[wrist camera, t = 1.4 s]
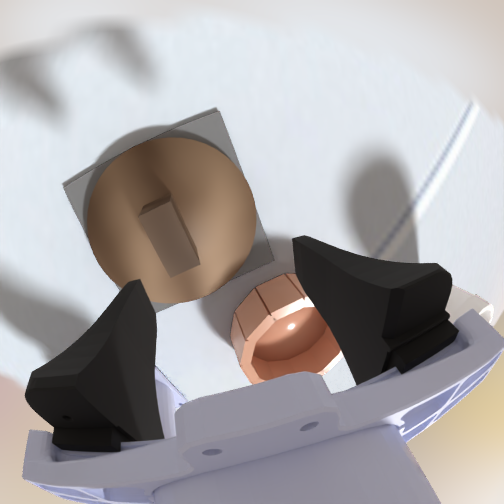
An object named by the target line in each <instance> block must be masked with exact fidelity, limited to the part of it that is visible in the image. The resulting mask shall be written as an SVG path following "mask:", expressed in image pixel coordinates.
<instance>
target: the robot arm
mask: <svg viewBox="0 0 504 504" xmlns="http://www.w3.org/2000/svg"><path fill="white" fill-rule="evenodd" d="M292 242H293V251H294V261H295V272H296V276H297V278H298V280H299V282H300V284H301V286H302V288H303V290H304V292H305V293H306V295H307V296H308V298H309V299H310V301H311V302H312V303H313V305H314V306H315V308H316V309H317V310H318V312H319V313H320V315H321V316H322V318H323V319H324V320H325V322H326V323H327V325H328V327H329V328H330V330H331V332H332V334H333V335H334V337H335V339H336V341H337V343H338V345H339V347H340V349H341V351H342V353H343V355H344V357H345V359H346V362H347V364H348V366H349V368H350V371H351V373H352V375H353V378H354V380H355V383H356V385H357V386H355V387H352V388H350V389H348V390H346V391H342V392H338V393H333V394H331V393H330V391H329V389H328V387H327V385H326V383H325V381H324V380H323V378H322V376H321V374H316V373H311V372H306V371H303V372H298V373H292V374H287V375H284V376H281V377H277V378H274V379H271V380H267V381H264V382H261V383H257V384H253V385H250V386H246V387H242V388H239V389H235V390H231V391H227V392H222V393H218V394H214V395H209V396H204V397H200V398H197V399H195V400H192V401H189V402H188V401H187V399H186V398H185V397H184V396H183V395H182V394H181V393H180V392H179V391H178V390H177V389H176V388H175V387H174V386H173V385H172V384H171V383H170V382H169V381H168V379H167V378H166V377H165V376H164V375H163V374H162V373H161V372H160V371H159V369H158V368H157V367H155V355H156V338H157V323H156V312H155V310H154V308H153V306H152V304H151V301H150V299H149V297H148V295H147V293H146V291H145V288H144V286H143V284H142V282H141V279H137V280H133V281H129V282H128V283H127V284H126V285H125V286H124V287H123V288H122V289H121V291H120V292H119V293H118V295H117V296H116V297H115V298H114V300H113V301H112V302H111V304H110V305H109V306H108V307H107V309H106V310H105V311H104V312H103V313H102V315H101V316H100V317H99V318H98V319H97V321H96V322H95V323H94V324H93V325H92V326H91V327H90V328H89V329H88V330H87V331H86V332H85V333H84V334H83V335H82V336H81V337H80V338H79V339H78V340H77V341H76V342H74V343H73V344H72V345H71V346H70V347H69V348H67V349H66V350H65V351H64V352H62V353H61V354H60V355H58V356H57V357H55V358H54V359H53V360H51V361H50V362H48V363H46V364H45V365H43V366H41V367H40V368H38V369H36V370H34V371H33V372H32V373H31V376H30V379H29V382H28V385H27V388H26V392H25V398H26V401H27V402H28V404H29V405H30V407H31V408H32V409H33V410H34V411H35V412H36V413H38V415H40V416H41V417H42V418H43V419H44V420H45V421H47V422H48V423H49V424H50V425H52V426H53V427H54V432H53V434H52V433H50V432H47V431H40V430H29V434H28V440H27V446H26V452H25V458H24V466H23V475H22V477H23V479H24V480H26V481H28V482H30V483H32V484H34V485H35V486H37V487H39V488H41V489H43V490H45V491H48V492H50V493H52V494H54V495H56V496H58V497H61V498H63V499H67V500H71V501H76V502H81V503H86V504H441V502H440V501H439V499H438V497H437V495H436V494H435V492H434V490H433V488H432V487H431V485H430V483H429V481H428V480H427V478H426V476H425V474H424V473H423V471H422V469H421V468H420V466H419V464H418V462H417V461H416V459H415V457H414V456H413V454H412V452H411V451H410V449H409V447H408V446H407V444H406V442H408V441H409V440H411V439H412V438H413V437H415V436H416V435H418V434H419V433H420V432H422V431H423V430H425V429H426V428H427V427H429V426H430V425H431V424H433V423H434V422H435V421H437V420H438V419H439V418H440V417H442V416H443V415H444V414H445V413H447V412H448V411H449V410H450V409H451V408H452V407H454V406H455V405H456V404H457V403H458V402H460V401H461V400H462V399H463V398H464V397H465V396H466V395H467V394H469V393H470V392H471V391H472V390H473V389H474V388H475V387H476V386H477V385H479V384H480V383H481V382H482V381H483V380H484V378H485V377H486V376H487V374H488V373H489V372H490V370H491V369H492V367H493V366H494V364H495V363H496V361H497V360H498V358H499V357H500V355H501V353H502V352H503V350H504V338H503V337H502V336H501V335H500V334H499V333H498V332H497V331H496V330H495V329H494V328H493V327H492V326H491V325H490V324H489V323H488V322H487V321H486V320H485V319H484V318H483V317H482V316H481V315H479V314H478V313H477V312H476V311H475V310H474V309H470V310H469V311H467V312H466V313H464V314H463V315H462V316H460V317H459V318H458V319H456V320H455V322H454V323H453V324H452V323H451V322H450V321H449V320H448V319H449V318H450V314H449V313H448V312H447V311H446V310H445V309H446V306H447V303H448V300H449V296H450V293H451V289H452V277H451V274H450V273H449V272H447V271H446V270H445V269H444V268H442V267H441V266H440V265H439V264H437V263H400V262H391V261H384V260H378V259H373V258H369V257H365V256H361V255H357V254H354V253H351V252H348V251H345V250H342V249H339V248H337V247H334V246H331V245H329V244H326V243H324V242H321V241H319V240H316V239H314V238H311V237H308V236H305V235H304V236H300V237H296V238H292ZM178 407H180V408H179V409H178V410H177V411H176V408H178Z"/></svg>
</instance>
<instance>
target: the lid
mask: <svg viewBox="0 0 504 504" xmlns="http://www.w3.org/2000/svg"><path fill="white" fill-rule="evenodd" d="M87 230H88V237H89V241H90V245H91V248H92V251H93V254H94V256H95V258H96V260H97V262H98V263H99V265H100V266H101V268H102V269H103V271H104V272H105V273H106V274H107V275H108V277H109V278H110V279H111V280H112V281H113V282H115V283H116V284H117V285H118V286H119V287H121V288H123V287H124V286H125V285H126V284H127V283H128V282H129V281H133V280H137V279H141V282H142V284H143V286H144V288H145V291H146V293H147V295H148V297H149V299H150V301H152V302H158V303H183V302H189V301H193V300H197V299H199V298H202V297H205V296H207V295H209V294H211V293H213V292H215V291H216V290H218V289H219V288H221V287H222V286H224V285H225V284H226V283H227V282H228V281H229V280H231V279H232V277H233V276H234V275H235V274H236V273H237V272H238V271H239V269H240V268H241V267H242V265H243V264H244V262H245V260H246V258H247V257H248V255H249V252H250V250H251V247H252V245H253V241H254V237H255V232H256V207H255V201H254V198H253V194H252V191H251V189H250V187H249V184H248V182H247V180H246V179H245V177H244V176H243V174H242V172H241V171H240V170H239V169H238V167H237V166H236V165H235V164H234V163H233V162H232V161H231V160H230V159H229V158H228V157H227V156H225V155H224V154H223V153H221V152H220V151H218V150H217V149H215V148H213V147H211V146H209V145H207V144H205V143H202V142H199V141H195V140H191V139H186V138H173V137H168V138H159V139H154V140H150V141H146V142H144V143H141V144H139V145H136V146H134V147H132V148H131V149H129V150H127V151H125V152H124V153H122V154H121V155H120V156H119V157H117V158H116V159H115V160H114V161H113V162H112V163H111V164H110V165H109V166H108V167H107V168H106V169H105V171H104V172H103V174H102V175H101V177H100V178H99V180H98V182H97V183H96V185H95V187H94V190H93V192H92V195H91V198H90V202H89V207H88V213H87Z"/></svg>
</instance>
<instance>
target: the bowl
mask: <svg viewBox="0 0 504 504" xmlns="http://www.w3.org/2000/svg"><path fill="white" fill-rule="evenodd" d="M256 289H257V290H256ZM256 289H255V288H254V289H253V290H252V291H251V292H250V294H249V295H248V296H247V297H246V298H245V299H244V301H243V302H242V303H241V304H240V305H239V306H238V308H237V309H236V310H235V312H234V316H233V322H232V328H231V334H230V337H231V340H232V343H233V346H234V349H235V352H236V355H237V358H238V361H239V364H240V367H241V369H242V370H243V372H244V373H245V375H246V376H247V378H248V379H249V381H250V383H252V384H257V383H261V382H264V381H267V380H271V379H274V378H277V377H281V376H284V375H287V374H292V373H298V372H303V371H306V372H311V373H316V374H321V376H323V375H325V374H324V373H327V372H328V371H329V370H330V369H331V368H332V367H333V366H334V365H335V364H336V363H337V362H338V361H339V360H340V359H341V358H342V357H343V356H344V355H343V353H342V351H341V349H340V347H339V345H338V343H337V341H336V339H335V337H334V335H333V334H332V332H331V330H330V328H329V327H328V325H327V323H326V322H325V320H324V319H323V318H322V316H321V315H320V313H319V312H318V310H317V309H316V308H315V306H314V305H313V303H312V302H311V301H310V299H309V298H308V296H307V295H306V293H305V292H304V290H303V288H302V286H301V284H300V282H299V280H298V278H297V276H296V274H290V273H286V275H285V274H282V275H280V276H278V277H276V278H274V279H272V280H270V281H267V282H265V283H263V284H261V285H259V286H257V287H256Z"/></svg>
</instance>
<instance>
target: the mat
mask: <svg viewBox="0 0 504 504" xmlns="http://www.w3.org/2000/svg"><path fill="white" fill-rule="evenodd" d="M168 137H173V138H186V139H191V140H195V141H199V142H202V143H205V144H207V145H209V146H211V147H213V148H215V149H217V150H218V151H220V152H221V153H223V154H224V155H225V156H227V157H228V158H229V159H230V160H231V161H232V162H233V163H234V164H235V165H236V166H237V167H238V169H239V170H240V171H241V172H242V169H241V166H240V164H239V161H238V158H237V156H236V153H235V150H234V147H233V145H232V142H231V140H230V137H229V134H228V132H227V129H226V126H225V124H224V121H223V118H222V116H221V113H220V111H217V112H215V113H212V114H209V115H206V116H204V117H201V118H199V119H196V120H193V121H191V122H188V123H186V124H184V125H181V126H179V127H176V128H174V129H172V130H169V131H167V132H165V133H163V134H160V135H158V136H156V137H154V138H152V139H150V140H154V139H159V138H168ZM150 140H147V141H150ZM145 142H146V141H145ZM143 143H144V142H143ZM123 153H124V152H123ZM120 155H121V154H120ZM120 155H118V156H116V157H114V158H112V159H110V160H109V161H107V162H105V163H103V164H101V165H100V166H98V167H96V168H94V169H93V170H91V171H89V172H88V173H86V174H84V175H83V176H81V177H80V178H78V179H76V180H75V181H73V182H72V183H70V184H68V185H67V186H65V187H64V190H65V193H66V195H67V197H68V199H69V201H70V203H71V205H72V207H73V210H74V212H75V214H76V216H77V218H78V219H79V221H80V223H81V225H82V227H83V229H84V231H85V233H86V235H87V237H88V230H87V213H88V207H89V202H90V198H91V195H92V192H93V190H94V187H95V185H96V183H97V182H98V180H99V178H100V177H101V175H102V174H103V172H104V171H105V169H106V168H107V167H108V166H109V165H110V164H111V163H112V162H113V161H114V160H115V159H116V158H117V157H119V156H120ZM242 174H243V172H242ZM243 176H244V174H243ZM88 238H89V237H88ZM272 261H274V258H273V255H272V252H271V249H270V246H269V243H268V241H267V238H266V235H265V232H264V229H263V227H262V224H261V221H260V218H259V215H258V213H257V210H256V232H255V237H254V241H253V245H252V247H251V250H250V252H249V255H248V257H247V258H246V260H245V262H244V264H243V265H242V267H241V268H240V269H239V271H238V272H237V273H236V274H235V275H234V276H233V277H232V279H234V278H237V277H239V276H241V275H243V274H245V273H248V272H250V271H252V270H254V269H256V268H259V267H261V266H263V265H265V264H267V263H270V262H272ZM232 279H231V280H232ZM229 281H230V280H229ZM115 284H116V283H115ZM116 286H117V287H118V289H119V290H120V291H121V289H122V288H121V287H119V286H118V285H117V284H116ZM151 304H152V306H153V308H154V310H155V312H156V313H157V312H160V311H162V310H164V309H166V308H169V307H171V306H173V305H176V304H178V303H158V302H152V301H151Z"/></svg>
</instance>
